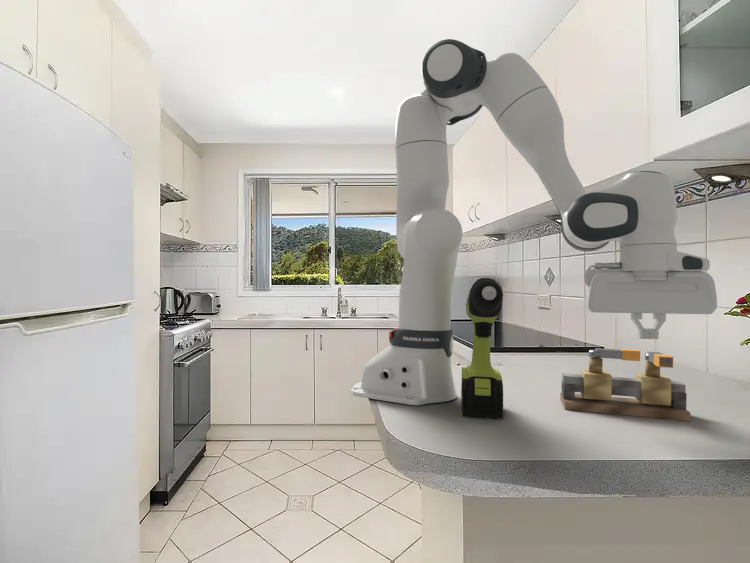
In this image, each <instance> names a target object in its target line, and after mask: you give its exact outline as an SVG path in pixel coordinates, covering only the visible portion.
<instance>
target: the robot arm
mask: <svg viewBox="0 0 750 563" xmlns="http://www.w3.org/2000/svg"><path fill="white" fill-rule="evenodd" d="M421 78H422V81H423V85H424V88H425V90H423V91H422V92H421V93H419V94H414V95H412V96H409V97H407V98H405V99H404V100H402V102H400V104H399V106H398V108H397V113H396V121H395V133H394V137H395V138H394V142H395V144H394V146H395V149H394V150H395V165H396V184H397V185H396V186H397V189H396V190H397V191H396V192H397V194H396V221H395V222H396V226H395V227H396V234H395V235H396V247H397V248H396V249H397V251H398V253H399V255H400V256H401V258H402V259H403V268H402V275H401V282H400V283H401V284H400V288H399V293H398V294H399V301H398V327H395V328H393V329H392V330H391V331H389V333H388V340H389V343H390V344H389V345H388V346H387V347H386V348H384V349H383V350H381V351H380V352H378V354H376V355H374V356H373V357H372V358H371V359H370V360H368V361H367V362H366V364H365V366H364V369H363V370H362V371H363V372H362V376H361V381H360V382H357V383H355V384H354V385H353V386H352V387H351V391H350V394H351V396H353V397H359V398H363V399H364V398H365V399H371V400H378V401H384V402H390V403H397V404H403V405H410V406H423V405H427V404H436V403H445V402H450V401H452V400H455V399H456V398H457V397H458V394H457V391H456V387H455V386H456V385H455V382H454V376H453V375H454V374H453V369H452V367H453V365H452V356H453V350H454V336H453V329H451V323H452V322H451V321H452V320H451V318H452V314H451V313H452V290H453V285H454V278H455V275H456V274H455V273H456V269H457V268H456V267H457V260H458V255H459V248H460V245H461V242H462V239H463V227H462V224H461V222H460V220H459V218H458V217H457V216H455V214H454V213H452V212H451V211H449V210H447V209H446V204H447V203H446V202H447V195H448V189H449V186H450V185H449V183H450V178H449V177H450V176H449V159H448V157H449V156H448V144H447V141H448V140H447V126H453V125H455V124H457V123H459V122H461V121H464V120H467V119H470V118H472V117H473V116H475V115H476V114H477V113H479V111H480V110H481V109H482V108H483V107H485V108H486V109H487V110H488V111H489V113H490V115H491V116H492V118H494V120H495V122H496V124H497V126H498V127H499V129H500V131H501V132H502V133H503V134H504V136H505V138H506V139H507V140H508V141H509V142H510V144H511V145H512V146H513V148H514V149H516V151H517V152H518V154H520V156H522V157H523V158H524V160H525V161H526V162H527V164H528V165H529V166H530V167H531V168H532V169H533V170H534V172H535V173H536V174H537V176H538V177H539V179H540V181H541V183H542V184H543V186H544V188H545V189H546V191H547V193H548V194H549V196H550V198H551V199H552V202H553V203H554V205H555V206H556V208H557V210H558V213H559V217H560V227H561V233H562V234H561V235H562V237H563V239H564V241H565V242H566V243H567V244H568V245H569V246H570V247H571V248H573V249H575V250H577V251H580V252H587V253H588V252H589V253H590V252H595V251H599V250H600V249H603V248H604V247H605V246H607V245H608V244H609V243H610V242H615V241H616V242H618V244H619V262H595V263H594V262H593V264H591V265H588V267H587V268H586V269H585V271H584V282H585V284H586V286H587V290H586V298H585V308H586V309H587V310H588V311H589V312H591V313H600V314H601V313H606V314H607V313H608V314H609V313H610V314H611V313H612V314H613V313H614V314H618V313H619V314H630V320H631V321H632V323H633V325H634V326H635V328H637V338H638V339H640V340H659V338H660V337H659V330H660V329H661V328H662V326H663V325H664V323H665V322H666V321H667V316H666V314H671V315H673V314H674V315H712V314H713V313H714V312H715V311H716V310H717V308H718V297H717V289H716V288H717V287H716V283H715V280H714V278H713V276H712V275H711V274H710V273H709V272H706V271H709V270H710V267H711V262H710V260H709V258H705V257H701V256H697V255H694V254H690V253H686V252H683V251H679V250H678V243H677V239H676V237H675V226H676V224H677V220H678V219H677V218H678V217H677V214H678V213H677V198H676V190H675V187H674V186H675V185H674V183H673V180H672V178H670V176H668V175H666V174H664V173H661V172H658V171H652V170H639V171H630V172H628V173H626V174H624V176H622V177H621V178H620V179H619V180H617V181H615V182H613V183H612V184H609V185H608V186H605V187H603V188H601V189H597V190H595V191H591V192H588V193H587V191H586V189H585V187H584V186H583V183H582V182H581V180H580V179H579V177H578V175H577V174H576V171H575V170H574V168H573V167H572V165H571V163H570V161H569V158H568V155H567V151H566V144H565V128H564V126H565V125H564V118H563V115H562V112H561V110H560V107H559V104H558V102H557V100H556V98H555V97H554V94H553V93H552V92H551V90H550V88H549V87H548V85H547V84H546V82H545V81H544V80H543V78H542V77H541V76H540V74H539V73H538V72H537V71H536V70H535V68H534V67H533V66H532V65H531V64H530V63H529V62H528V61H527V60H526V59H525V58H523V56H521V54H518V53H514V52H507V53H503V54H501V55H498V56H497V57H495V58H494V59H493V60H489V61H488V60H487V56H486V54H485V53H484V52H483V51H481V50H478V49H476V48H473V47H471V46H469V45H468V44H466V43H464V42H463V41H460V40H457V39H452V38H449V39H448V38H447V39H442V40H439V41H437V42H436V43H434V44H433V45H432V46H431V47H430V48H428V50H427V51H426V53H425V54H424V57H423V60H422V64H421ZM643 314H653V315H652V316H653V319H654V320H655V321H654V323H653V325H652V326H651V327H650V328H649V327H648V328H647V327H646V328H645V327H644V326H643V325H642V323H641V321H640V320H643Z"/></svg>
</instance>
